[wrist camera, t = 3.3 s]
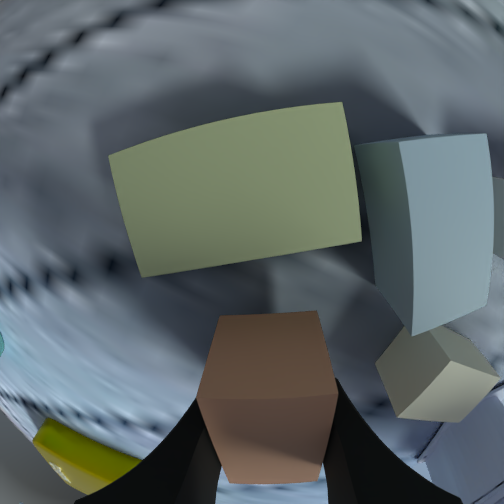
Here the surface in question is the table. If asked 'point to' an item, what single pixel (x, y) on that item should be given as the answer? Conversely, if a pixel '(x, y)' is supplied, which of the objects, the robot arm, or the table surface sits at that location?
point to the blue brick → (430, 224)
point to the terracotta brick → (269, 397)
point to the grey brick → (498, 216)
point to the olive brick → (239, 190)
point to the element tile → (80, 457)
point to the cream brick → (435, 375)
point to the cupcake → (1, 344)
